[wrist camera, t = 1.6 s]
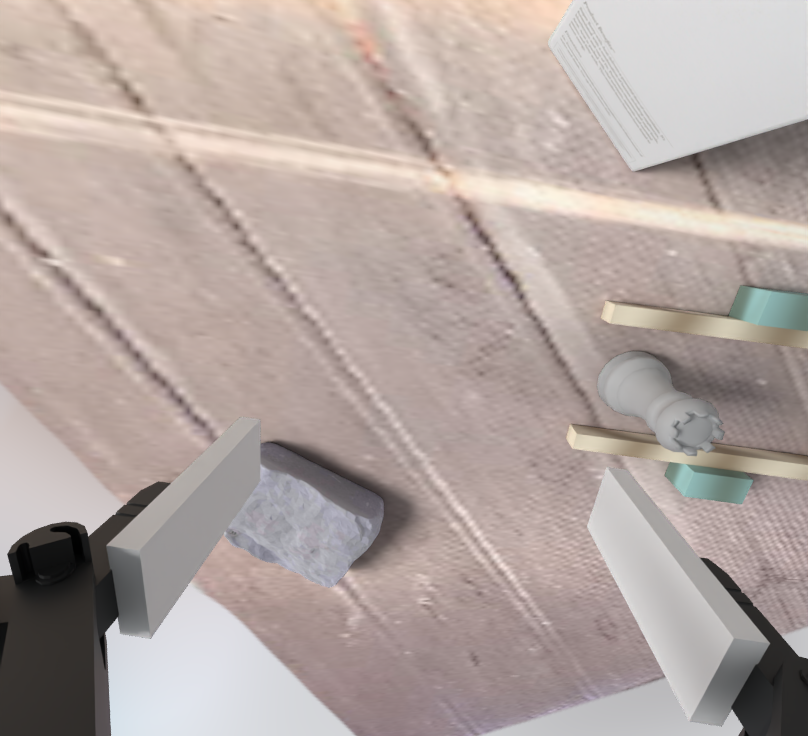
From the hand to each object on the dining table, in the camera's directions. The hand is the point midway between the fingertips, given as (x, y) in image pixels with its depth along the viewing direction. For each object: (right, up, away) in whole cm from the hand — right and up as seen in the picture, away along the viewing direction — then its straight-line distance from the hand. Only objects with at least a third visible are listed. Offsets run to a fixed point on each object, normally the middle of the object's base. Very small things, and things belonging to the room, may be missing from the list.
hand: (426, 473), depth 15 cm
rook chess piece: (+15, +3, +13) cm, 20 cm away
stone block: (-9, -8, +19) cm, 23 cm away
